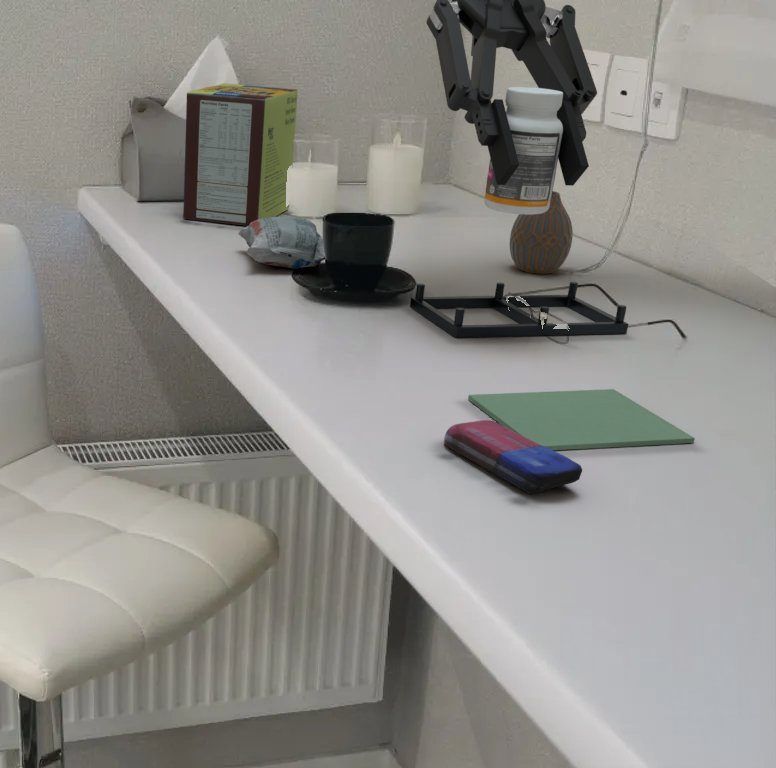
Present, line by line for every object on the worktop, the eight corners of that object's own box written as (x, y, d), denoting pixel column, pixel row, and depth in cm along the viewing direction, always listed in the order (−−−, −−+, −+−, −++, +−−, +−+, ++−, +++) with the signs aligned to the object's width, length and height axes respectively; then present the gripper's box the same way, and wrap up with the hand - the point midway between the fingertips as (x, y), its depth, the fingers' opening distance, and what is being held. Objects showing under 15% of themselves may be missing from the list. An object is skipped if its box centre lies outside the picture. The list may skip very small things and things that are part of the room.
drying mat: (612, 393, 95) (613, 388, 95) (694, 443, 86) (695, 438, 86) (467, 399, 92) (468, 394, 92) (535, 451, 82) (536, 446, 82)
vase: (500, 261, 138) (512, 185, 134) (559, 265, 138) (572, 188, 134) (510, 275, 132) (523, 195, 128) (572, 279, 132) (586, 199, 128)
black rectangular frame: (569, 304, 121) (573, 280, 120) (626, 333, 112) (632, 308, 111) (409, 306, 117) (412, 282, 116) (455, 338, 107) (459, 311, 106)
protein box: (290, 209, 161) (299, 88, 154) (258, 228, 147) (266, 97, 141) (218, 200, 163) (223, 82, 156) (180, 219, 150) (184, 90, 143)
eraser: (434, 442, 83) (436, 418, 82) (480, 435, 85) (483, 412, 84) (535, 500, 74) (539, 474, 73) (585, 492, 75) (590, 466, 75)
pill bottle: (489, 201, 106) (506, 84, 102) (552, 208, 105) (573, 90, 100) (478, 210, 101) (495, 88, 97) (544, 218, 100) (565, 95, 95)
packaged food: (245, 274, 125) (249, 227, 123) (237, 249, 135) (240, 206, 133) (326, 278, 126) (331, 232, 124) (311, 253, 136) (315, 210, 134)
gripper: (558, -7, 111) (617, 202, 104) (374, -18, 106) (423, 201, 99) (598, -71, 104) (664, 149, 97) (403, -85, 99) (458, 145, 92)
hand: (542, 174), depth 98 cm, fingers closed on pill bottle, 6 cm apart
